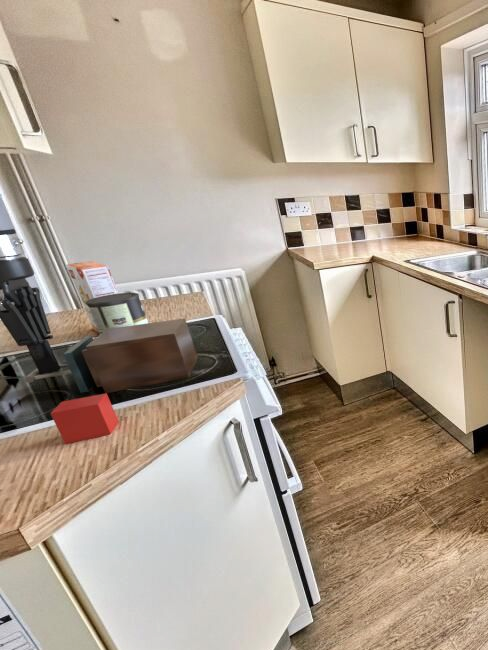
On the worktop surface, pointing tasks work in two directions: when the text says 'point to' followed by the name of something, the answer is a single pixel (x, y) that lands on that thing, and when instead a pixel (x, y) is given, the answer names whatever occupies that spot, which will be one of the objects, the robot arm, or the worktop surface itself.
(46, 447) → the worktop surface
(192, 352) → the cabinet
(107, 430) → the box
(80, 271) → the cracker box
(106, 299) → the coffee can
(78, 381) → the drawer
